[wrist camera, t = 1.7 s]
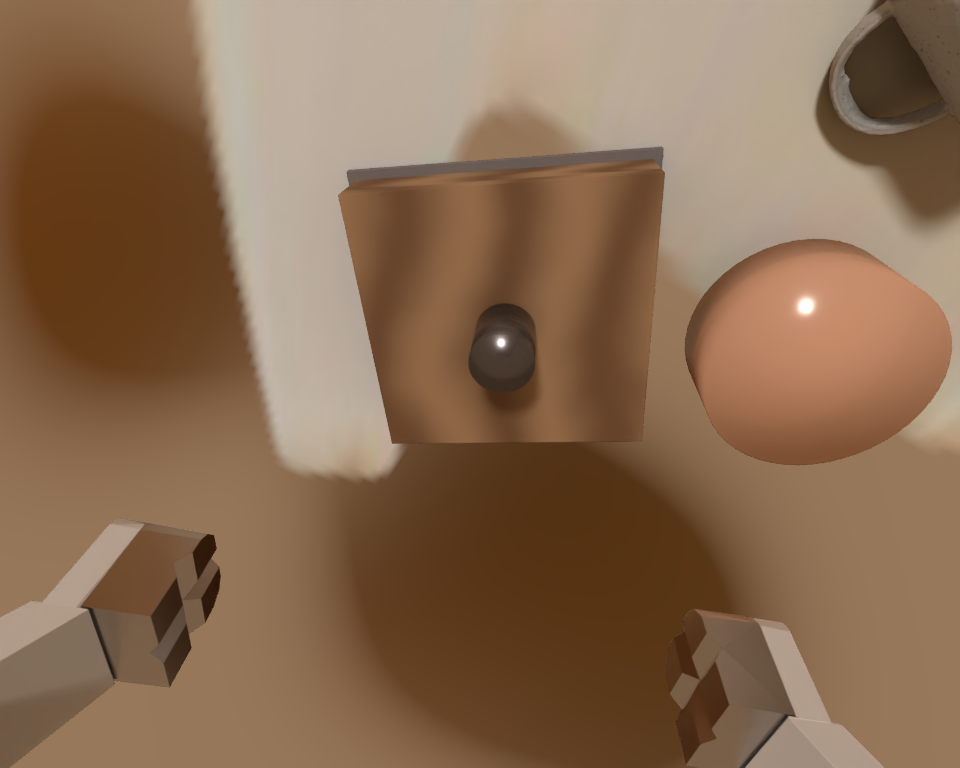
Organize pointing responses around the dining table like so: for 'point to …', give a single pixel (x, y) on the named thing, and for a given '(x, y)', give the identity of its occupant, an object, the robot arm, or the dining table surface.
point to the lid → (510, 299)
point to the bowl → (815, 352)
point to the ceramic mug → (940, 45)
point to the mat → (508, 163)
